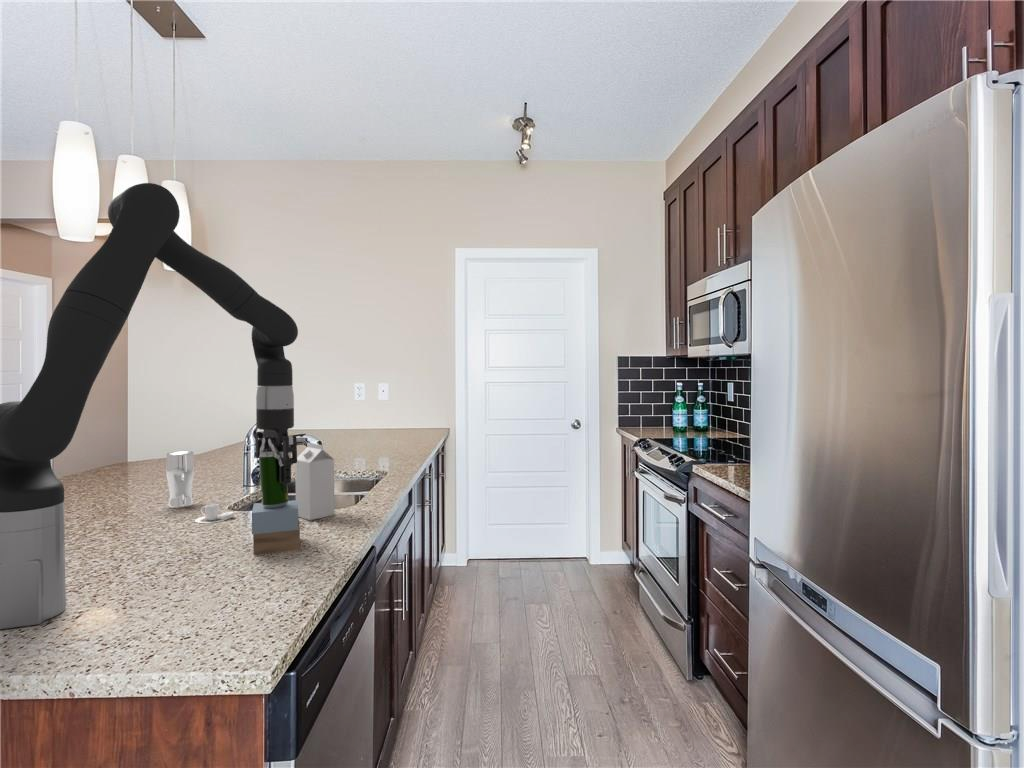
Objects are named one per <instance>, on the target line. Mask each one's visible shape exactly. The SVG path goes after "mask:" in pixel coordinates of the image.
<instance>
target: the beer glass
mask: <svg viewBox="0 0 1024 768" xmlns="http://www.w3.org/2000/svg"><path fill="white" fill-rule="evenodd" d="M194 455H195V454H194V451H191V450H190V451H188V450H187V451H185V450H184V451H172V452H168V453H166V459H165V460H166V461H165V475H166V480H167V485H168V490H169V499H168V504H167V507H168V508H171V509H179V508H186V507H187V508H188V507H191V506H193V505H194V503H193V496H192V487H193V482H194V476H195V456H194Z"/></svg>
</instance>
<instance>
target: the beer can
mask: <svg viewBox="0 0 1024 768" xmlns="http://www.w3.org/2000/svg"><path fill="white" fill-rule="evenodd" d="M282 458H283V457H282ZM258 461H259V478H260V492H261V503H262V505H263V507H264V508H277V507H282V506H285V505H287V504H288V501H290V499H289V486H288V484H289V483H288V484H280V477H279V467H280V465H279V462H278V459H277V458H275V457H274V454H273V451H267V450H265V451H260V455H259V458H258Z"/></svg>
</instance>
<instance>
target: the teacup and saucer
mask: <svg viewBox="0 0 1024 768" xmlns="http://www.w3.org/2000/svg"><path fill="white" fill-rule="evenodd" d="M219 507H220V504H218V503H209V504H206V505H205V506H202V507H201V508H200V512H201V514H202V516H201V517H198V518H195V519H194V522H195V523H198V524H213V523H219V522H224V521H227V520H229V519H231V518H233V517H234V516H235V512H234V511H227V512H224V513H221V514H219V511H220V508H219ZM203 509H204V512H205V514H204V512H203ZM204 519H206V520H207V521H208V522H207V521H202V520H204Z"/></svg>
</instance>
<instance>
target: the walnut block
mask: <svg viewBox="0 0 1024 768" xmlns="http://www.w3.org/2000/svg"><path fill="white" fill-rule="evenodd" d="M300 527H301V526H300V519H299V518H298V530H293V531H283V532H273V533H263V534H252V535H253V539H252V540H253V541H252V542H253V555H254V556H256V555H264V554H274V553H282V552H290V551H292V552H293V551H299V550H300V551H301V532H300V531H301V529H300Z"/></svg>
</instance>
